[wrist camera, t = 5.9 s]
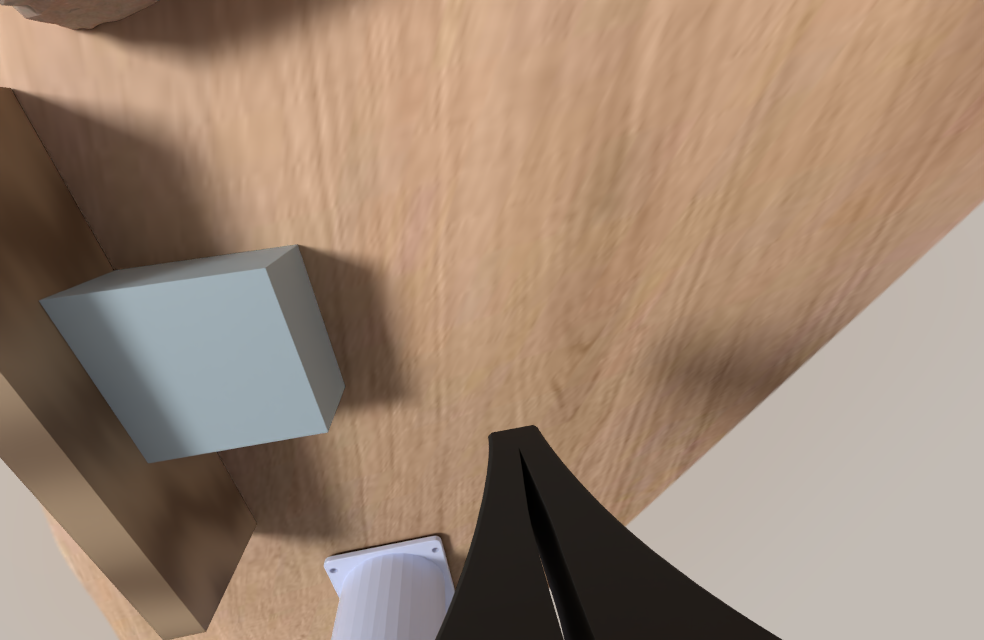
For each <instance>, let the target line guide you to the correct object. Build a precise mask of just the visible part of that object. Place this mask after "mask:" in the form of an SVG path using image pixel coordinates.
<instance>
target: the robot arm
mask: <svg viewBox="0 0 984 640" xmlns="http://www.w3.org/2000/svg"><path fill="white" fill-rule="evenodd" d="M488 440H489V459H488V468H487V476H486V482H485V488H484V494H483V499H482V503H481V507H480V512H479V516H478V520H477V524H476V528H475V532H474V535H473V539H472V542H471V546H470V549H469V552H468V555H467V558H466V562H465V565H464V568H463V571H462V573H461V576H460V579H459V582H458V584H457V587H456V590H455V589H454V585H453V581H452V578H451V574H450V570H449V566H448V563H447V559H446V555H445V551H444V548H443V544H442V540H441V538H440V537H438V536H430V537H425V538H420V539H415V540H410V541H405V542H400V543H395V544H390V545H385V546H380V547H375V548H370V549H365V550H360V551H355V552H350V553H345V554H340V555H335V556H330V557H328V558H326V560H325V562H324V568H325V570H326V572H327V574H328V576H329V578H330V580H331V582H332V584H333V586H334V588H335V590H336V592H337V594H338V596H339V598H340V600H339V605H338V610H337V614H336V619H335V624H334V628H333V633H332V638H331V640H782V639H780V638H779V637H777V636H775V635H774V634H772V633H771V632H769V631H767V630H766V629H764V628H762V627H761V626H759V625H758V624H756V623H754V622H753V621H751V620H750V619H748V618H747V617H745V616H744V615H742V614H741V613H739V612H737V611H736V610H734V609H733V608H731V607H730V606H728V605H727V604H725V603H724V602H722V601H721V600H719V599H718V598H717V597H715V596H714V595H712V594H711V593H709V592H708V591H706V590H705V589H704V588H702V587H701V586H699V585H698V584H696V583H695V582H694V581H692V580H691V579H690V578H688V577H687V576H686V575H684V574H683V573H682V572H680V571H679V570H677V569H676V568H675V567H674V566H672V565H671V564H670V563H668V562H667V561H666V560H665V559H663V558H662V557H661V556H659V555H658V554H657V553H655V552H654V551H653V550H651V549H650V548H649V547H648V546H647V545H646V544H644V543H643V542H642V541H641V540H640V539H638V538H637V537H636V536H635V535H634V534H633V533H631V532H630V531H629V530H628V529H627V528H626V527H625V526H624V525H622V524H621V523H620V522H619V521H618V520H617V519H616V518H615V517H614V516H613V515H612V514H611V513H610V512H608V511H607V510H606V509H605V508H604V507H603V506H602V505H601V504H600V503H599V502H598V501H597V500H596V499H595V498H594V497H593V496H592V495H591V493H590V492H589V491H588V490H587V489H586V488H585V487H584V486H583V485H582V484H581V483H580V482H579V481H578V479H577V478H576V477H575V476H574V475H573V474H572V473H571V471H570V470H569V469H568V468H567V467H566V466H565V464H564V463H563V462H562V461H561V460H560V458H559V457H558V456H557V454H556V453H555V452H554V451H553V449H552V448H551V447H550V445H549V444H548V443H547V441H546V440H545V438H544V437H543V435H542V434H541V432H540V431H539V429H538V428H537V427H536V426H534V425H531V426H525V427H520V428H515V429H509V430H504V431H498V432H493V433H491V434H490V435H489V436H488ZM539 555H540V556H539ZM540 558H541V560H540ZM541 561H542V563H541ZM542 565H543V567H542ZM543 568H544V570H543ZM544 571H545V574H546V577H547V580H548V583H549V586H550V589H551V592H552V595H553V598H554V602H555V605H556V608H557V612H558V616H559V619H560V623H561V627H562V631H563V635H564V639H563V636H562V633H561V629H560V626H559V622H558V619H557V615H556V612H555V609H554V605H553V602H552V599H551V595H550V591H549V588H548V584H547V581H546V577H545V574H544Z"/></svg>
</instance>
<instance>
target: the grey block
mask: <svg viewBox="0 0 984 640" xmlns="http://www.w3.org/2000/svg"><path fill="white" fill-rule="evenodd" d="M39 302H40V303H41V305H42V306H43V308H44V309H45V311H46V312H47V314H48V315H49V317H50V318H51V320H52V321H53V323H54V324H55V326H56V327H57V329H58V330H59V332H60V333H61V335H62V336H63V338H64V339H65V340H66V342H67V343H68V345H69V346H70V348H71V349H72V351H73V352H74V354H75V355H76V357H77V358H78V360H79V361H80V363H81V364H82V366H83V367H84V369H85V370H86V372H87V373H88V375H89V376H90V378H91V379H92V381H93V382H94V384H95V385H96V387H97V388H98V390H99V391H100V393H101V394H102V396H103V397H104V398H105V400H106V401H107V403H108V404H109V406H110V407H111V409H112V410H113V412H114V413H115V415H116V416H117V418H118V419H119V421H120V422H121V424H122V425H123V427H124V428H125V430H126V431H127V433H128V434H129V436H130V437H131V439H132V440H133V442H134V443H135V445H136V446H137V448H138V449H139V451H140V452H141V454H142V455H143V456H144V458H145V459H146V461H147V462H148V463H153V462H159V461H165V460H171V459H176V458H182V457H188V456H194V455H200V454H205V453H211V452H217V451H223V450H228V449H234V448H240V447H246V446H251V445H257V444H263V443H269V442H274V441H280V440H286V439H292V438H298V437H303V436H309V435H315V434H321V433H326V432H328V431H329V428H330V426H331V423H332V420H333V418H334V415H335V413H336V410H337V407H338V405H339V402H340V399H341V397H342V394H343V391H344V389H345V384H344V381H343V378H342V375H341V372H340V369H339V366H338V363H337V360H336V357H335V354H334V351H333V348H332V345H331V342H330V339H329V336H328V334H327V331H326V328H325V325H324V322H323V319H322V316H321V313H320V310H319V307H318V304H317V301H316V298H315V295H314V292H313V289H312V286H311V283H310V280H309V277H308V274H307V271H306V268H305V265H304V262H303V259H302V256H301V253H300V250H299V247H298V244H297V245H290V246H283V247H276V248H269V249H262V250H255V251H248V252H240V253H233V254H226V255H219V256H212V257H205V258H198V259H191V260H184V261H176V262H169V263H162V264H155V265H148V266H141V267H134V268H127V269H120V270H115V271H112V272H110V273H107V274H105V275H102V276H99V277H97V278H94V279H92V280H89V281H87V282H84V283H82V284H79V285H77V286H74V287H72V288H69V289H67V290H64V291H61V292H59V293H56V294H54V295H51V296H49V297H46V298H44V299H41V300H39Z"/></svg>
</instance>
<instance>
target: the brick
mask: <svg viewBox="0 0 984 640" xmlns="http://www.w3.org/2000/svg"><path fill="white" fill-rule="evenodd" d="M158 1H159V0H0V4H1V5H5V6H13V7H14V8H15V9H16V10H17V11H18V12H19V13H20V14H21V15H22V16H23V17H24V18H26V19H30V20H35V21H40V22H45V23H51V24H58V25H59V26H62V27H66V28H70V29H73V30H76V29H80V28H86V29H92V28H94V27H95V26H97V25H99V24H102V23H105V22H111V21H118V20H121V19H124V18H126V17H128V16H130V15H132V14H134V13H136V12H138V11H140V10H142V9H144V8H146V7H149V6H150V5H152V4H154V3H156V2H158Z"/></svg>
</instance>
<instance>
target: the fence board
mask: <svg viewBox="0 0 984 640" xmlns="http://www.w3.org/2000/svg"><path fill="white" fill-rule="evenodd" d="M112 271H114V270H113V268H112V267H111V265H110V263H109V261H108V260H107V258H106V256H105V254H104V252H103V251H102V249H101V247H100V245H99V244H98V242H97V240H96V238H95V237H94V235H93V233H92V231H91V229H90V228H89V226H88V224H87V222H86V221H85V219H84V217H83V215H82V214H81V212H80V210H79V208H78V207H77V205H76V203H75V201H74V199H73V198H72V196H71V194H70V192H69V191H68V189H67V187H66V185H65V184H64V182H63V180H62V178H61V176H60V175H59V173H58V171H57V169H56V168H55V166H54V164H53V162H52V161H51V159H50V157H49V155H48V153H47V152H46V150H45V148H44V146H43V145H42V143H41V141H40V139H39V138H38V136H37V134H36V132H35V130H34V129H33V127H32V125H31V123H30V122H29V120H28V118H27V116H26V115H25V113H24V111H23V109H22V107H21V106H20V104H19V102H18V100H17V99H16V97H15V95H14V93H13V92H12V90H11V88H5V87H0V458H1V459H2V460H3V461H4V462H5V463H6V464H7V465H8V467H9V468H10V469H11V470H12V471H13V472H14V473H15V474H16V476H17V477H18V478H19V479H20V480H21V481H22V482H23V484H24V485H25V486H26V487H27V488H28V489H29V490H30V491H31V492H32V493H33V495H34V496H35V497H36V498H37V499H38V500H39V501H40V503H41V504H42V505H43V506H44V507H45V508H46V509H47V510H48V512H49V513H50V514H51V515H52V516H53V517H54V518H55V519H56V520H57V522H58V523H59V524H60V525H61V526H62V527H63V528H64V529H65V531H66V532H67V533H68V534H69V535H70V536H71V537H72V538H73V540H74V541H75V542H76V543H77V544H78V545H79V546H80V547H81V549H82V550H83V551H84V552H85V553H86V554H87V555H88V556H89V557H90V559H91V560H92V561H93V562H94V563H95V564H96V565H97V566H98V568H99V569H100V570H101V571H102V572H103V573H104V574H105V575H106V577H107V578H108V579H109V580H110V581H111V582H112V583H113V584H114V585H115V587H116V588H117V589H118V590H119V591H120V592H121V593H122V594H123V596H124V597H125V598H126V599H127V600H128V601H129V602H130V603H131V605H132V606H133V607H134V608H135V609H136V610H137V611H138V612H139V614H140V615H141V616H142V617H143V618H144V619H145V620H146V621H147V622H148V624H149V625H150V626H151V627H152V628H153V629H154V630H155V631H156V633H157V634H158V635H159V636H160V637H161V638H162V639H163V640H170V639H174V638H179V637H184V636H189V635H194V634H198V633H203V632H206V631H207V628H208V626H209V624H210V622H211V620H212V618H213V616H214V614H215V612H216V609H217V607H218V605H219V603H220V601H221V599H222V597H223V595H224V593H225V590H226V588H227V586H228V584H229V582H230V580H231V578H232V576H233V574H234V571H235V569H236V567H237V565H238V563H239V561H240V559H241V557H242V555H243V552H244V550H245V548H246V546H247V544H248V542H249V540H250V538H251V536H252V533H253V531H254V529H255V527H256V525H257V523H256V521H255V520H254V518H253V516H252V514H251V513H250V511H249V509H248V507H247V505H246V504H245V502H244V500H243V498H242V497H241V495H240V493H239V491H238V490H237V488H236V486H235V484H234V482H233V481H232V479H231V477H230V475H229V474H228V472H227V470H226V468H225V467H224V465H223V463H222V461H221V459H220V458H219V456H218V454H217V452H211V453H205V454H200V455H194V456H188V457H182V458H176V459H171V460H165V461H159V462H153V463H148V462H147V461H146V459H145V458H144V456H143V455H142V454H141V452H140V451H139V449H138V448H137V446H136V445H135V443H134V442H133V440H132V439H131V437H130V436H129V434H128V433H127V431H126V430H125V428H124V427H123V425H122V424H121V422H120V421H119V419H118V418H117V416H116V415H115V413H114V412H113V410H112V409H111V407H110V406H109V404H108V403H107V401H106V400H105V398H104V397H103V396H102V394H101V393H100V391H99V390H98V388H97V387H96V385H95V384H94V382H93V381H92V379H91V378H90V376H89V375H88V373H87V372H86V370H85V369H84V367H83V366H82V364H81V363H80V361H79V360H78V358H77V357H76V355H75V354H74V352H73V351H72V349H71V348H70V346H69V345H68V343H67V342H66V340H65V339H64V338H63V336H62V335H61V333H60V332H59V330H58V329H57V327H56V326H55V324H54V323H53V321H52V320H51V318H50V317H49V315H48V314H47V312H46V311H45V309H44V308H43V306H42V305H41V303H40V302H39V300H41V299H44V298H46V297H49V296H51V295H54V294H56V293H59V292H61V291H64V290H67V289H69V288H72V287H74V286H77V285H79V284H82V283H84V282H87V281H89V280H92V279H94V278H97V277H99V276H102V275H105V274H107V273H110V272H112Z"/></svg>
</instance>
